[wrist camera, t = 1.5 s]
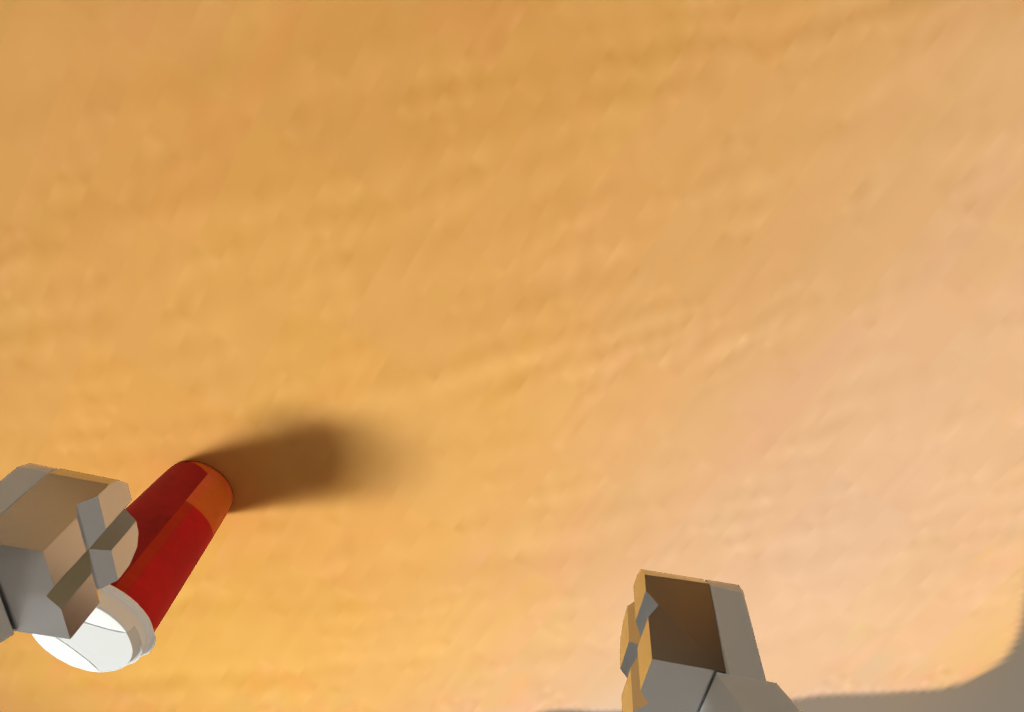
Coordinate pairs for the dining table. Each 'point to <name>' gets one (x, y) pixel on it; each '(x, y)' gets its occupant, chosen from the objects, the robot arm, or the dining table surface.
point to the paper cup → (150, 568)
